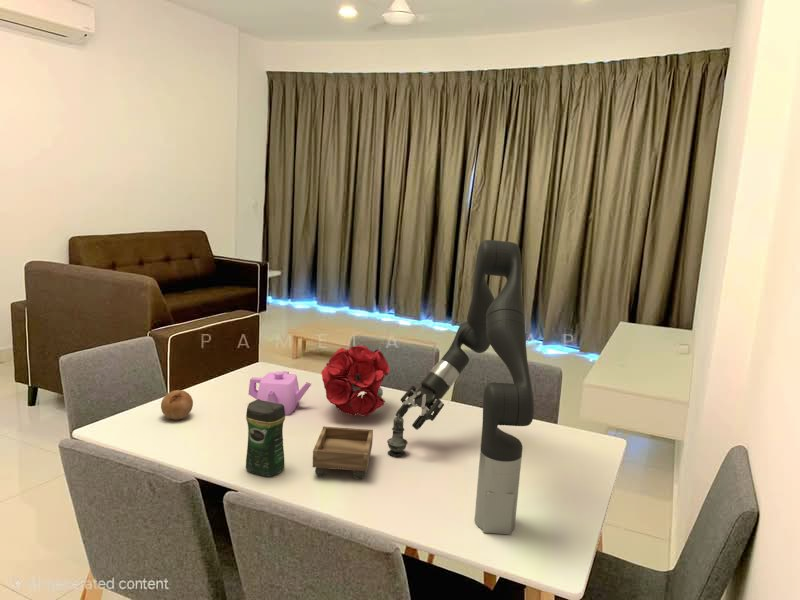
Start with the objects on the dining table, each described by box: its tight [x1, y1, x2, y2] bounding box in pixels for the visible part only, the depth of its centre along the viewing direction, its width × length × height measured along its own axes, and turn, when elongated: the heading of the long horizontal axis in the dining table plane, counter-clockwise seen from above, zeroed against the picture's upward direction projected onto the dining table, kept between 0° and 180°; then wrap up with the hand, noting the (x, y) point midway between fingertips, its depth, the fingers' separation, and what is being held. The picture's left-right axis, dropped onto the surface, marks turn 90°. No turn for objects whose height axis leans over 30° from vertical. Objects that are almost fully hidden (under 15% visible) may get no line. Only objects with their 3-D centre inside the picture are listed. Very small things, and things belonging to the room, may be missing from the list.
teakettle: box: [248, 370, 312, 416], centre depth 196 cm, size 17×17×12 cm
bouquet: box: [320, 345, 391, 417], centre depth 198 cm, size 22×24×30 cm
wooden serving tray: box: [312, 426, 374, 480], centre depth 157 cm, size 16×14×8 cm
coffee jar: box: [245, 399, 286, 477], centre depth 152 cm, size 10×8×19 cm
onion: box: [160, 389, 194, 421], centre depth 183 cm, size 10×9×10 cm
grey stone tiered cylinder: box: [386, 414, 409, 458], centre depth 166 cm, size 6×6×12 cm
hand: (405, 422), depth 167 cm, fingers open, 8 cm apart
